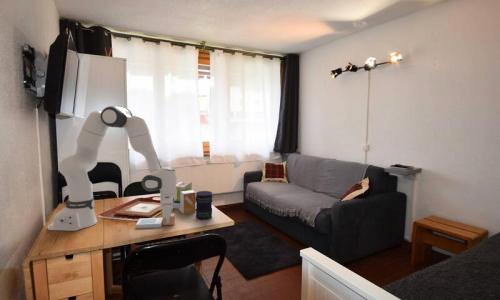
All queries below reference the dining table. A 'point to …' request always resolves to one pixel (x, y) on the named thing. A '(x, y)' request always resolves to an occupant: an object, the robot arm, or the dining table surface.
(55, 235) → the dining table surface
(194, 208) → the small box
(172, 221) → the stub
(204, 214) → the storage jar
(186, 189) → the tea box
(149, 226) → the white flat box
